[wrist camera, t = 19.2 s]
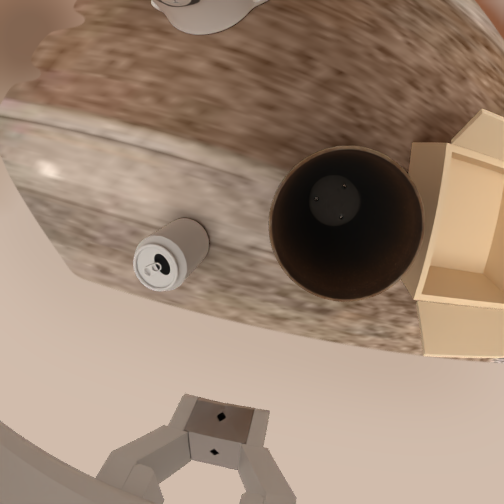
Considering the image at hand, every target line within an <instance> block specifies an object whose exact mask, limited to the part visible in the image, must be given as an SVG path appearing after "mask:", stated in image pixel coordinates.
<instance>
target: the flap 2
mask: <svg viewBox="0 0 504 504" xmlns="http://www.w3.org/2000/svg"><path fill="white" fill-rule="evenodd" d="M416 306H417V313H418V319H419V326H420V334H421V342H422V351H423V356H434V357H463V358H504V310H498V309H488V308H478V307H468V306H459V305H450V304H441V303H432V302H423V301H417V303H416Z"/></svg>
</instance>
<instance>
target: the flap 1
mask: <svg viewBox="0 0 504 504" xmlns="http://www.w3.org/2000/svg"><path fill="white" fill-rule="evenodd" d="M451 144H454V145H457V146H460V147H463V148H467V149H470V150H473V151H476V152H479V153H482V154H485V155H488V156H490V157H493V158H496V159H499V160H502V161H504V117H501V116H499V115H497V114H494V113H492V112H489V111H487V110H484V109H481V110H480V111H479V112H478V113H477V114H476V115H475V116H474V117H473V118H472V119H471V120H470V121H469V122H468V123H467V124H466V125H465V126H464V127H463V128H462V129H461V130H460V131H459V132H458V133H457V134H456V135H455V136H454V137H453V138H452V139H451Z"/></svg>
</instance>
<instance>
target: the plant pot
mask: <svg viewBox="0 0 504 504" xmlns="http://www.w3.org/2000/svg"><path fill="white" fill-rule="evenodd" d="M343 184H345V185H346V186H347V187H346V188H344V187H343ZM315 197H318V198H319V199H318V200H317V201H316V200H314V198H315ZM341 216H343V218H342V219H340V217H341ZM424 231H425V214H424V207H423V203H422V199H421V196H420V193H419V191H418V189H417V187H416V185H415V183H414V182H413V180H412V179H411V177H410V176H409V175H408V173H407V172H406V171H405V170H404V169H403V168H402V167H401V166H400V165H399V164H398V163H396V162H395V161H394V160H393V159H391V158H390V157H388V156H386V155H384V154H382V153H380V152H378V151H375V150H373V149H370V148H366V147H361V146H336V147H331V148H327V149H324V150H321V151H318V152H316V153H314V154H312V155H310V156H308V157H307V158H305V159H303V160H302V161H301V162H299V163H298V164H297V165H296V166H295V167H294V168H293V169H292V170H291V171H290V172H289V173H288V174H287V175H286V176H285V178H284V179H283V181H282V182H281V183H280V185H279V187H278V189H277V191H276V193H275V195H274V198H273V201H272V204H271V208H270V214H269V237H270V242H271V246H272V249H273V252H274V255H275V257H276V259H277V261H278V263H279V265H280V266H281V268H282V269H283V271H284V272H285V273H286V274H287V276H288V277H289V278H290V279H291V280H292V281H293V282H294V283H296V284H297V285H298V286H300V287H301V288H302V289H304V290H305V291H307V292H309V293H311V294H313V295H315V296H318V297H321V298H324V299H328V300H333V301H341V302H349V301H358V300H363V299H367V298H370V297H373V296H376V295H378V294H380V293H382V292H384V291H386V290H387V289H389V288H390V287H392V286H393V285H394V284H396V283H397V282H398V281H399V280H400V279H401V278H402V277H403V276H404V275H405V274H406V273H407V272H408V270H409V269H410V268H411V266H412V265H413V263H414V261H415V260H416V258H417V256H418V254H419V251H420V248H421V246H422V242H423V238H424Z"/></svg>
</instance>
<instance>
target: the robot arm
mask: <svg viewBox="0 0 504 504" xmlns="http://www.w3.org/2000/svg"><path fill="white" fill-rule="evenodd" d="M266 1H268V0H152V1H151V4H152V6H153V7H154V8H155V9H157V10H159V11H161V12H163V13H164V14H165V15H166V17H167V18H168V20H169V21H170V23H171V24H172V25H173V26H174V27H176V28H177V29H179V30H181V31H183V32H186V33H189V34H196V35H203V34H211V33H216V32H219V31H222V30H225V29H227V28H229V27H231V26H233V25H234V24H236V23H237V22H239V21H240V20H241V19H242V18H244V17H245V16H246V15H247V13H248V12H249V11H250V10H251V9H253V8H254V7H255V6H258V5H260V4H262V3H264V2H266ZM269 413H270V411H269V410H262V409H256V408H251V407H245V406H239V405H234V404H228V403H227V404H226V403H221V402H217V401H213V400H209V399H205V398H201V397H196V396H193V395H189V394H185V395H184V396H183V397H182V398H181V401H180V403H179V405H178V407H177V409H176V411H175V413H174V415H173V417H172V419H171V421H170V423H169V425H168V426H165V425H163V426H161V427H159V428H158V429H156V430H154V431H152V432H150V433H148V434H146V435H144V436H142V437H141V438H138V439H136V440H134V441H132V442H130V443H128V444H126V445H124V446H122V447H120V448H118V449H116V450H114V451H112V452H111V453H110V455H109V457H108V458H107V460H106V462H105V463H104V465H103V466H102V468H101V470H100V472H99V473H98V475H97V476H96V478H94V477H91V476H89V475H87V474H85V473H83V472H81V471H80V470H78V469H76V468H74V467H72V466H70V465H68V464H66V463H64V462H63V461H61V460H59V459H57V458H56V457H54V456H52V455H50V454H49V453H47V452H45V451H44V450H42V449H41V448H39V447H37V446H35V445H34V444H33V443H31V442H30V441H28V440H26V439H25V438H24V437H22V436H21V435H19V434H17V433H16V432H15V431H13V430H12V429H11V428H9V427H8V426H6V425H5V424H4V423H2V422H1V421H0V504H163V502H164V498H163V496H162V493H161V490H160V487H159V483H161V482H162V481H164V480H165V479H166V478H168V477H169V476H171V475H172V474H173V473H175V472H176V471H177V470H179V469H180V468H182V467H183V466H185V465H186V464H187V463H188V462H190V461H191V460H195V461H200V462H204V463H209V464H213V465H218V466H222V467H226V468H230V469H235V470H238V472H239V475H240V477H241V480H242V482H243V484H244V487H245V489H246V493H244V494H242V496H241V500H240V504H296V496H295V495H294V493H293V491H292V490H291V488H290V487H289V485H288V483H287V481H286V480H285V478H284V476H283V475H282V473H281V471H280V470H279V468H278V466H277V464H276V462H275V461H274V459H273V457H272V455H271V454H270V452H269V450H268V448H264V447H263V445H264V440H265V435H266V430H267V424H268V419H269Z"/></svg>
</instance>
